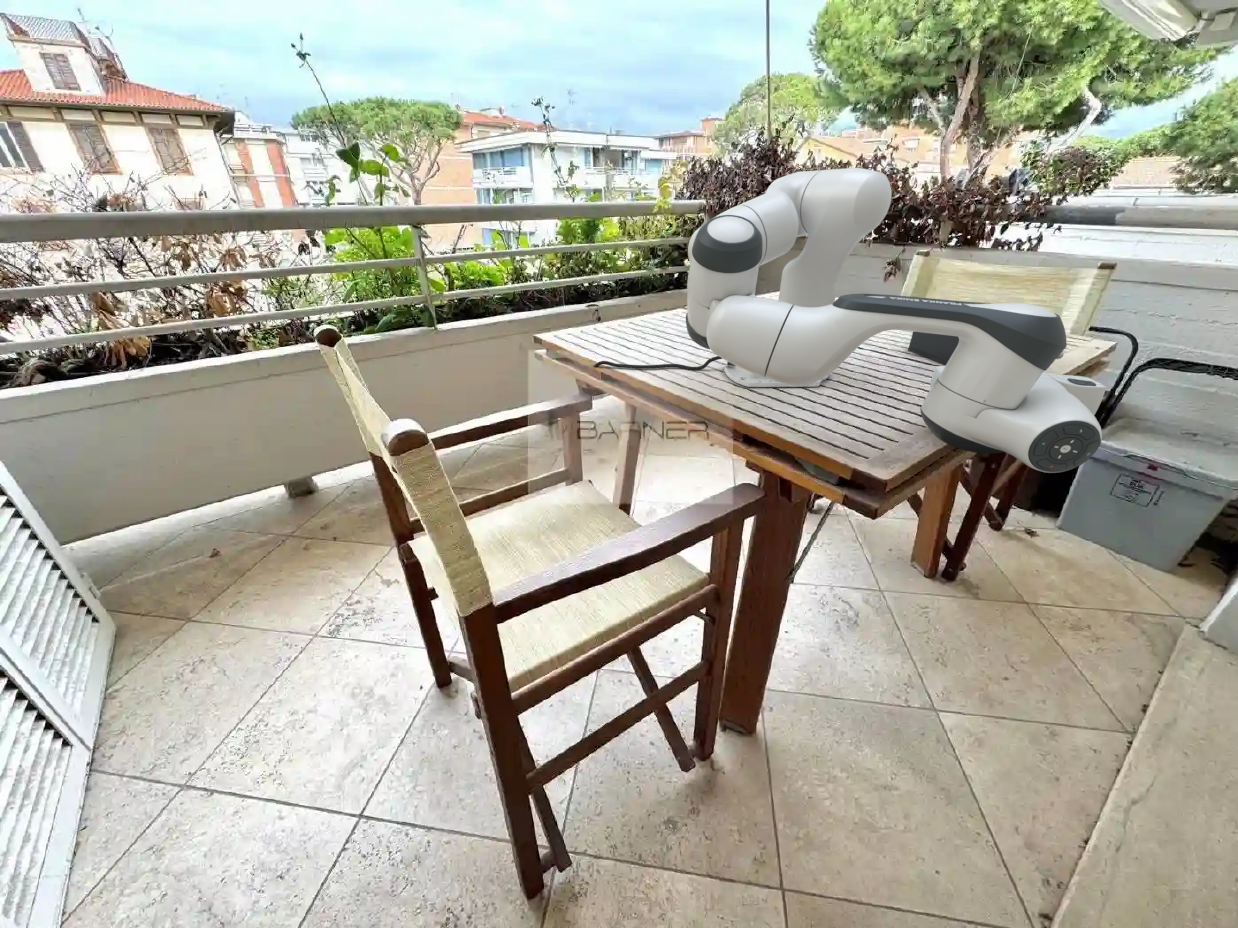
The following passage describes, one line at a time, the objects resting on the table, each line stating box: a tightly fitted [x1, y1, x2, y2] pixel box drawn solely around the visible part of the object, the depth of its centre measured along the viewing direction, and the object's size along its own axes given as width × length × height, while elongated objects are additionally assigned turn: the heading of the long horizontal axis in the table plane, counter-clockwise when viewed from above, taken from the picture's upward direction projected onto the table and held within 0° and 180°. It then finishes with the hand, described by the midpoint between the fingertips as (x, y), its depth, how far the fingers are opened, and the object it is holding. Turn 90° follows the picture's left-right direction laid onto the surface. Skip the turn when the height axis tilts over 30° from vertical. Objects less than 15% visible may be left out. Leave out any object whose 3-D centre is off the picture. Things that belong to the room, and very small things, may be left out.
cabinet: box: [907, 331, 959, 366], centre depth 113 cm, size 15×13×11 cm
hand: (995, 371), depth 80 cm, fingers open, 8 cm apart
